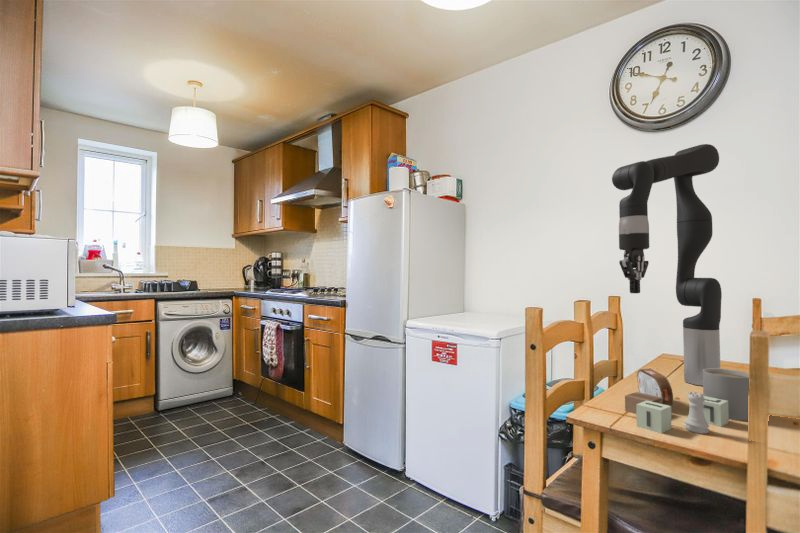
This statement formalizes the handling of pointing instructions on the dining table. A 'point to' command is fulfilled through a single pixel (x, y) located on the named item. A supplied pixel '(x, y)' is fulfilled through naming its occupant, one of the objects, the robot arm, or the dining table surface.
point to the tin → (655, 385)
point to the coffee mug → (728, 390)
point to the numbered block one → (654, 416)
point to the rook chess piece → (696, 414)
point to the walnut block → (639, 400)
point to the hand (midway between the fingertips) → (634, 293)
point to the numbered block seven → (715, 411)
